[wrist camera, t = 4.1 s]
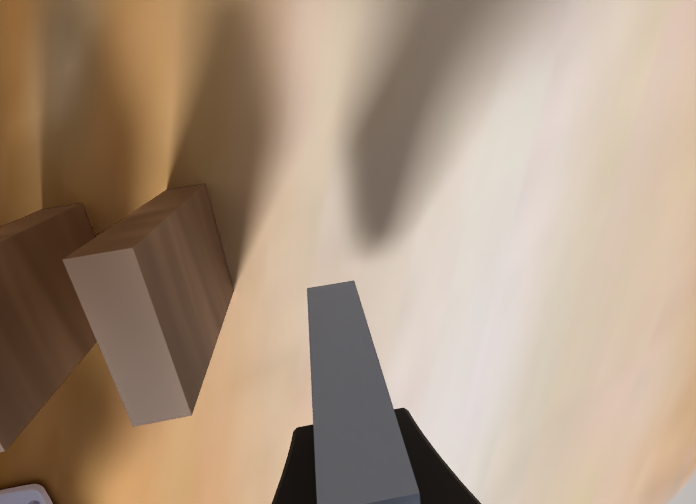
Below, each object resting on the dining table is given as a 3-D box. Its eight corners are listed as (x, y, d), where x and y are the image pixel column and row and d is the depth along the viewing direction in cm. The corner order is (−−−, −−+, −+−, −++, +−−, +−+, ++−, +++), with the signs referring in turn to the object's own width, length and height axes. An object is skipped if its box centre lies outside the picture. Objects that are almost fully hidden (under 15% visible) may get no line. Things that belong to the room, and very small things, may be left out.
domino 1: (82, 203, 17) (-92, 285, 9) (123, 310, 18) (5, 451, 11) (41, 209, 17) (-168, 297, 9) (86, 316, 18) (-57, 463, 11)
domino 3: (353, 280, 14) (419, 492, 6) (369, 398, 16) (434, 671, 8) (307, 288, 14) (317, 513, 6) (327, 405, 15) (355, 690, 8)
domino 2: (205, 183, 17) (132, 247, 9) (233, 290, 19) (191, 415, 11) (166, 189, 17) (61, 259, 9) (198, 296, 19) (132, 426, 11)
